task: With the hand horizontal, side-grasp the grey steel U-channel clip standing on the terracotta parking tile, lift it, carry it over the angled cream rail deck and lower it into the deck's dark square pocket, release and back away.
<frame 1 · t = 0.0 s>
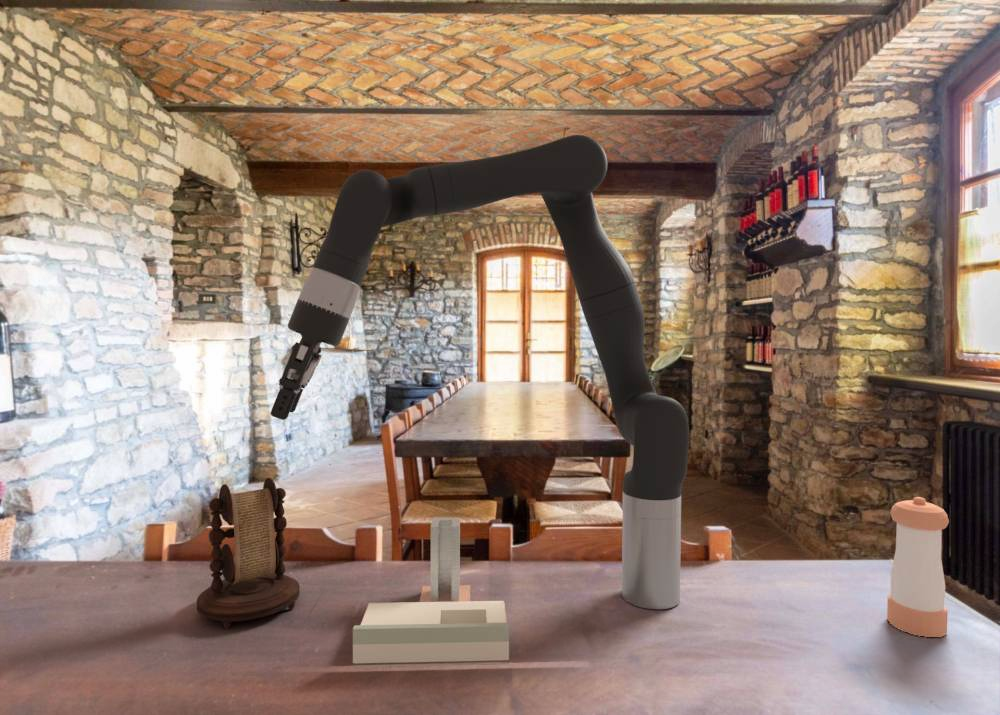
hand: (282, 413, 83), 31 cm above the table, tool tilted 20°, fingers open, 8 cm apart
parking tile: (445, 599, 96), on the table
clip: (445, 595, 96), point 1 cm above the table, touching parking tile
rail deck: (434, 642, 82), on the table
salt shaker: (916, 627, 88), on the table
scroll: (249, 609, 93), on the table
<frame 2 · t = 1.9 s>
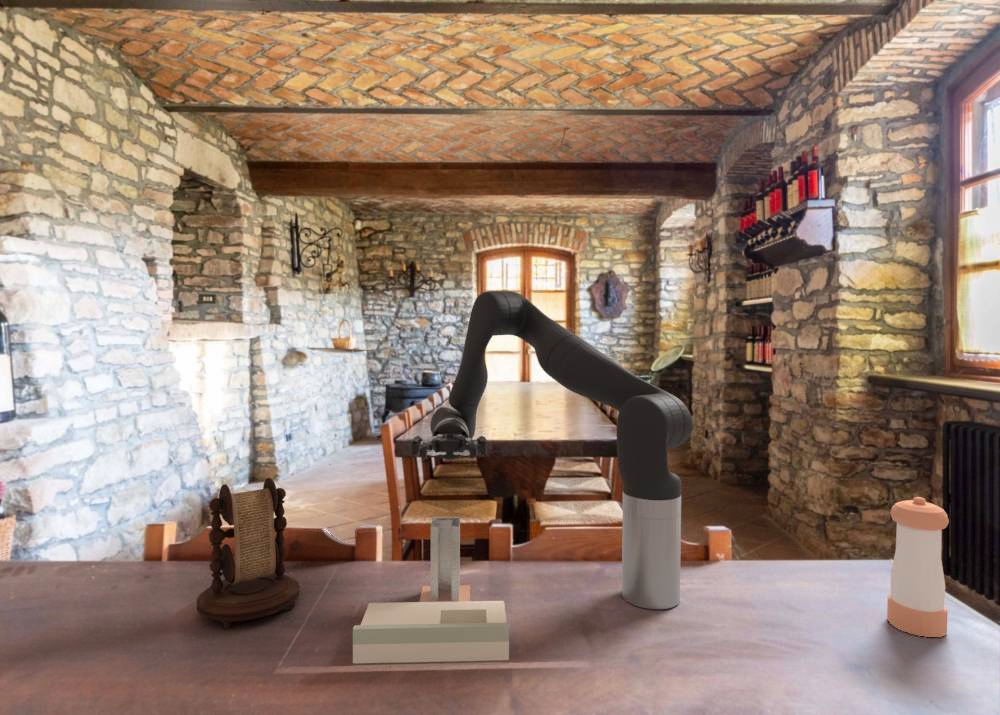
hand: (448, 452, 106), 22 cm above the table, tool horizontal, fingers open, 8 cm apart
nothing on the table moved.
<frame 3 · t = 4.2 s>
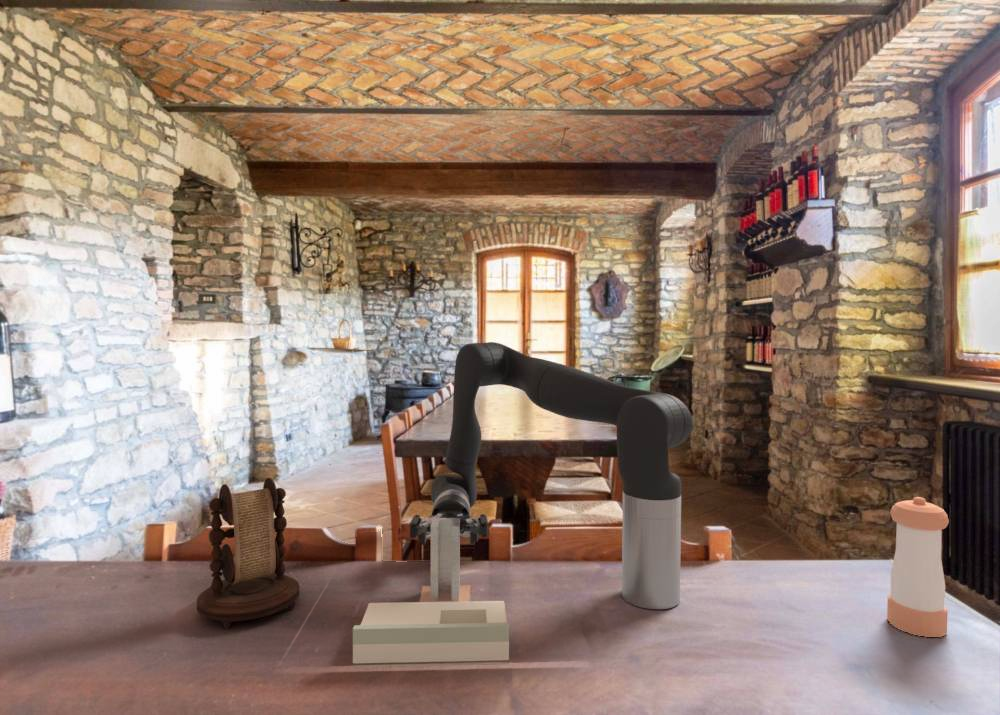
hand: (447, 539, 103), 7 cm above the table, tool horizontal, fingers open, 8 cm apart
nothing on the table moved.
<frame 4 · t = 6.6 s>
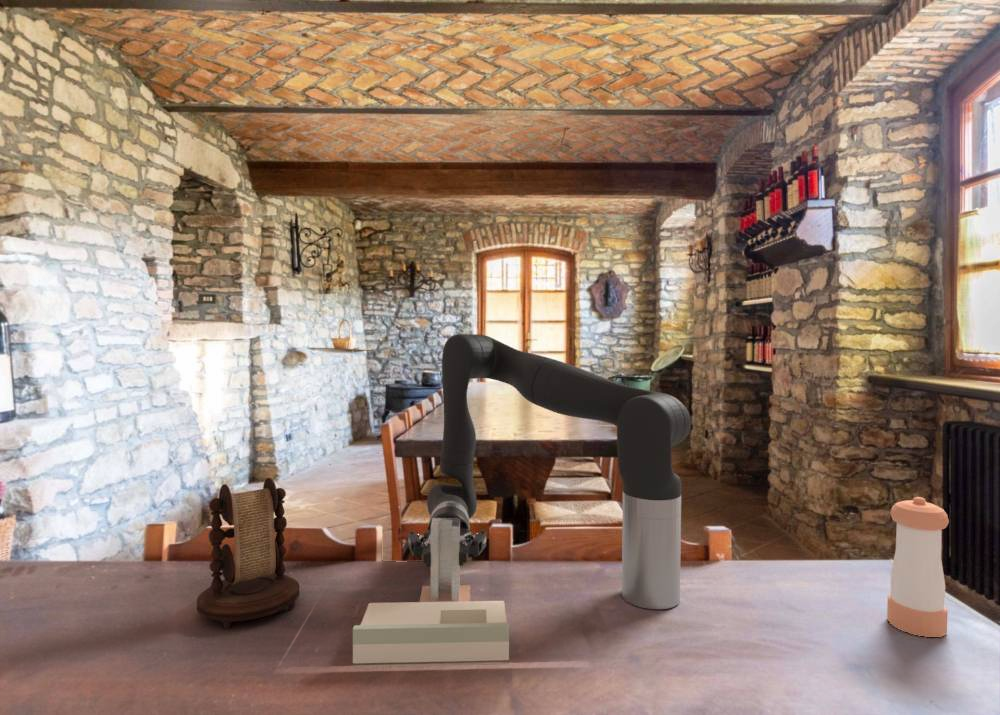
hand: (445, 559, 93), 7 cm above the table, tool horizontal, fingers closed on clip, 4 cm apart
clip: (445, 595, 96), point 1 cm above the table, touching gripper, parking tile
everything else where it was.
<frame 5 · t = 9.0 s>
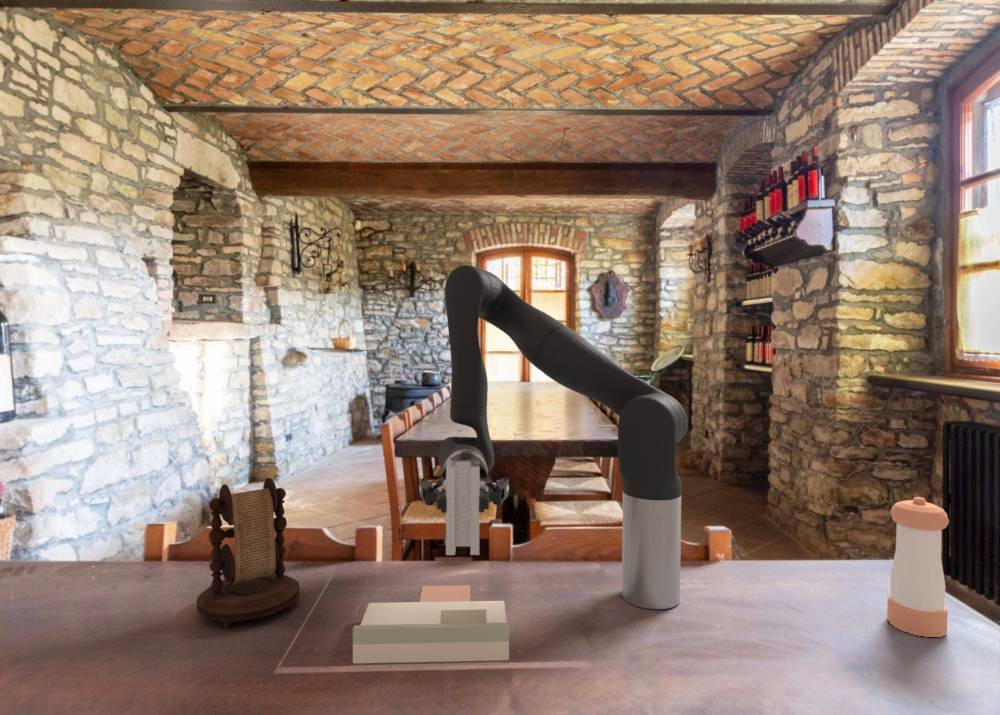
hand: (462, 505, 79), 20 cm above the table, tool horizontal, fingers closed on clip, 4 cm apart
clip: (462, 549, 82), point 13 cm above the table, touching gripper
everything else where it was.
when the fingers open (8 cm above the table, at t = 11.6 s): clip drops 1 cm, resting on rail deck.
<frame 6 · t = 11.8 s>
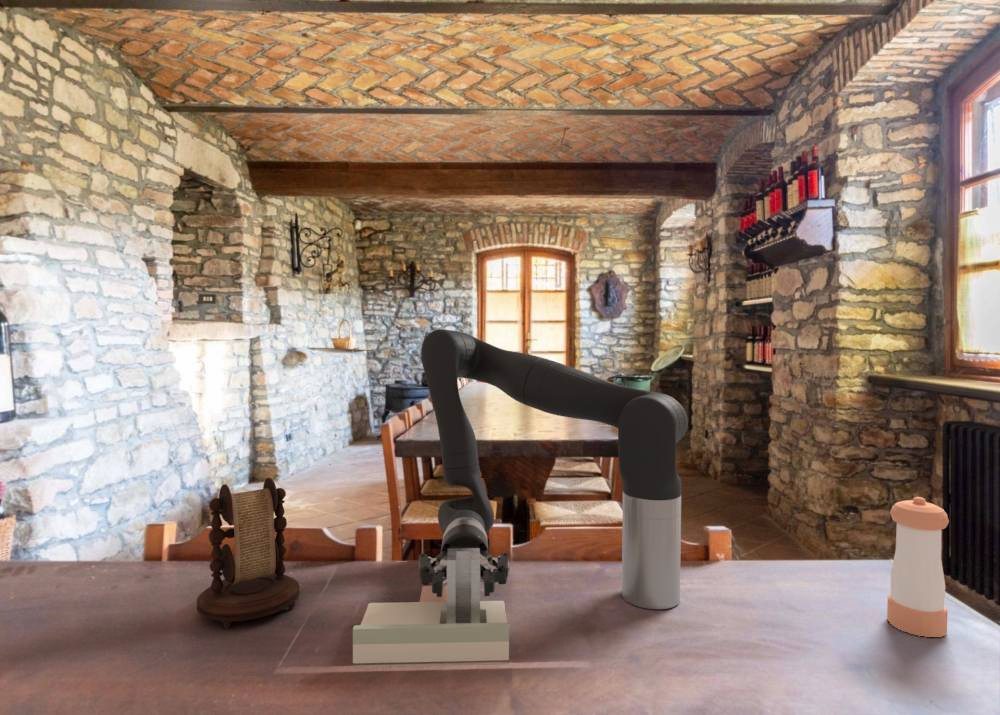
hand: (463, 589, 80), 8 cm above the table, tool horizontal, fingers open, 6 cm apart
clip: (463, 639, 83), resting on rail deck
everything else where it was.
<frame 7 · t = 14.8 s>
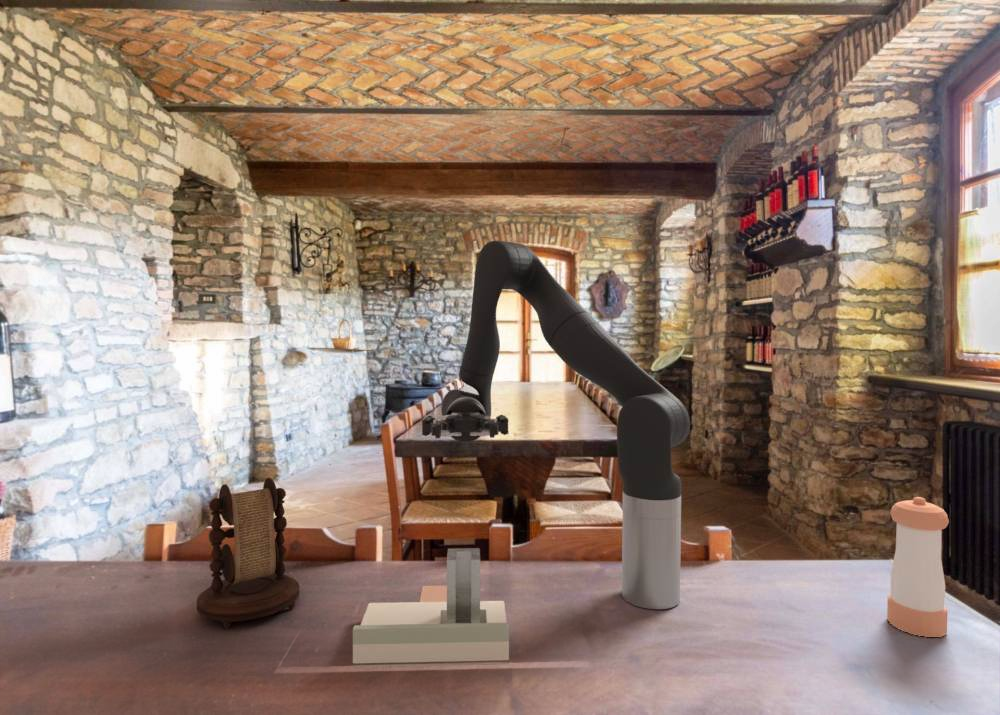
hand: (465, 431, 93), 28 cm above the table, tool horizontal, fingers open, 8 cm apart
nothing on the table moved.
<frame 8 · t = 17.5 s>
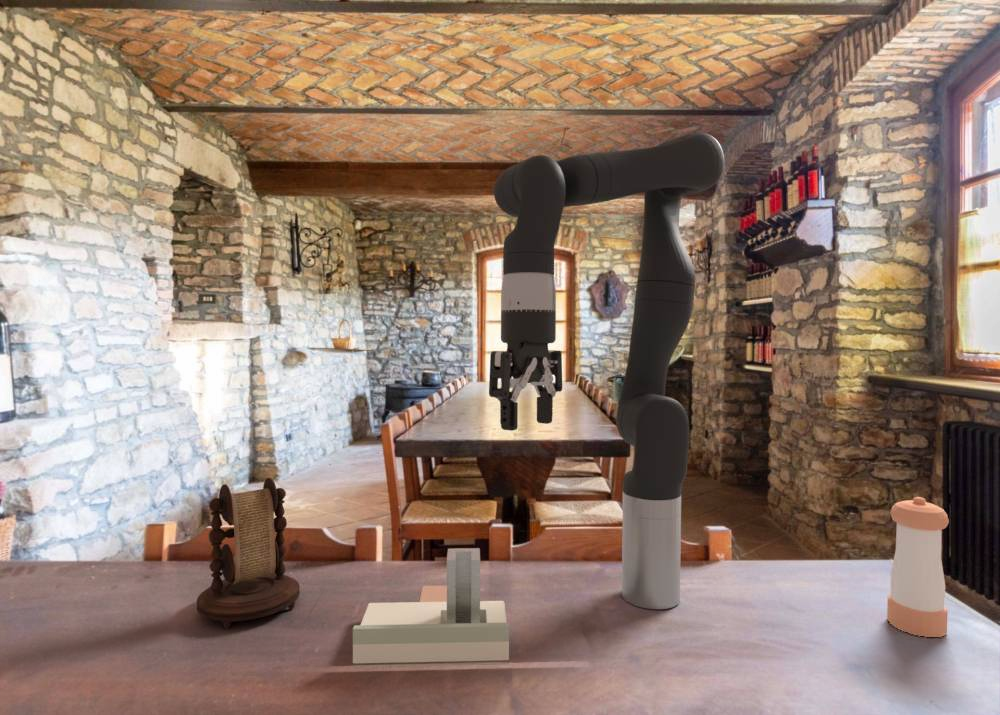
hand: (527, 426, 82), 30 cm above the table, tool pointing down, fingers open, 8 cm apart
nothing on the table moved.
at the end: clip 0.1 cm from the target spot on the rail deck, point 0.3 cm above the rail deck's base; clip tilted 0°; the gripper is holding nothing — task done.
